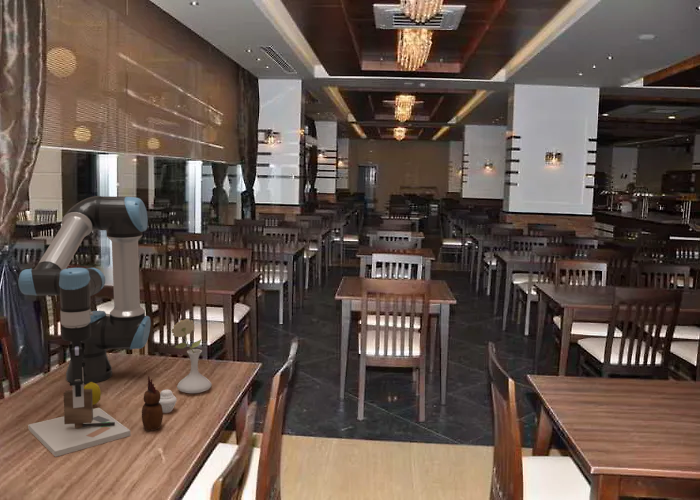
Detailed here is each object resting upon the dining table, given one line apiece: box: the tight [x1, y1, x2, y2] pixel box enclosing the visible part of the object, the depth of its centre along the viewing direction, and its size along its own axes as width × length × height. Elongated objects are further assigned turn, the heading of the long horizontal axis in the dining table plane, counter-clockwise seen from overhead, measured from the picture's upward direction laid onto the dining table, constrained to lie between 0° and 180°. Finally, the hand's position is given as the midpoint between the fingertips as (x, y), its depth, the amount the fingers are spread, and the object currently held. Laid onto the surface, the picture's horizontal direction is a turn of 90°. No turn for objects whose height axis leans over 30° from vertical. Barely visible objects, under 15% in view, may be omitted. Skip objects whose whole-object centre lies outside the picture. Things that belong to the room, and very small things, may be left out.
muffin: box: [159, 389, 178, 414], centre depth 189 cm, size 6×6×7 cm
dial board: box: [27, 407, 132, 458], centre depth 173 cm, size 20×22×2 cm
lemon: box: [84, 382, 102, 406], centre depth 191 cm, size 6×6×8 cm
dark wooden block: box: [63, 389, 115, 428], centre depth 172 cm, size 2×13×10 cm, turn 102°
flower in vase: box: [171, 318, 212, 394], centre depth 206 cm, size 13×11×25 cm
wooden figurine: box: [141, 375, 164, 431], centre depth 176 cm, size 7×6×15 cm
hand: (78, 398), depth 172 cm, fingers open, 13 cm apart
